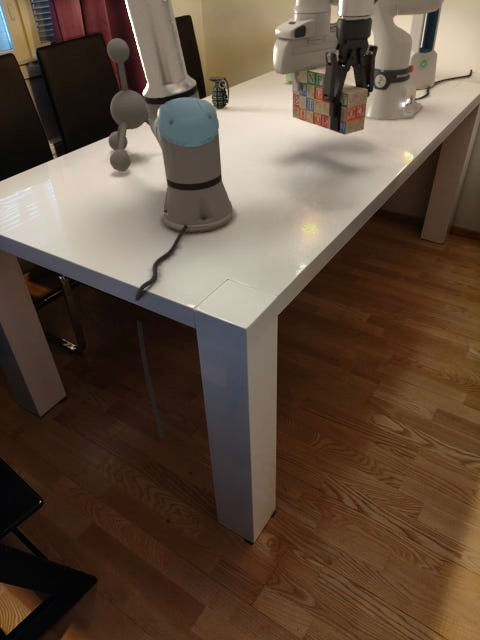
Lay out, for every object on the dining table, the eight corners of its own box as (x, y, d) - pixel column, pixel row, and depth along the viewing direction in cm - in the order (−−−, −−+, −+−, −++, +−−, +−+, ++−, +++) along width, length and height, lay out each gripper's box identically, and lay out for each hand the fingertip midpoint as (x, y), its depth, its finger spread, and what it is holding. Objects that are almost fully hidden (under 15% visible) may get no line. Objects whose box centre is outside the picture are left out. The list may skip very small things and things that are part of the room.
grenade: (209, 109, 176) (207, 79, 170) (214, 105, 180) (212, 76, 174) (227, 110, 174) (225, 79, 168) (231, 105, 179) (229, 76, 173)
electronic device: (404, 91, 183) (418, -5, 165) (394, 86, 189) (407, -6, 171) (434, 87, 186) (451, -7, 167) (423, 83, 191) (438, -9, 173)
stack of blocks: (364, 130, 118) (369, 74, 111) (344, 135, 116) (348, 79, 108) (310, 112, 133) (311, 62, 125) (291, 117, 131) (291, 66, 123)
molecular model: (194, 162, 134) (180, 38, 116) (114, 177, 128) (87, 49, 110) (171, 138, 152) (156, 27, 133) (100, 151, 146) (75, 36, 127)
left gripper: (375, 11, 111) (364, 116, 125) (308, 20, 104) (304, 131, 118) (399, 13, 106) (385, 123, 120) (331, 23, 99) (324, 139, 113)
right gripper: (336, 19, 123) (332, 79, 131) (269, 29, 115) (269, 92, 123) (353, 21, 119) (348, 83, 127) (285, 32, 111) (284, 97, 119)
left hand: (345, 127), depth 119 cm, fingers closed on stack of blocks, 6 cm apart
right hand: (309, 88), depth 125 cm, fingers closed on stack of blocks, 6 cm apart
